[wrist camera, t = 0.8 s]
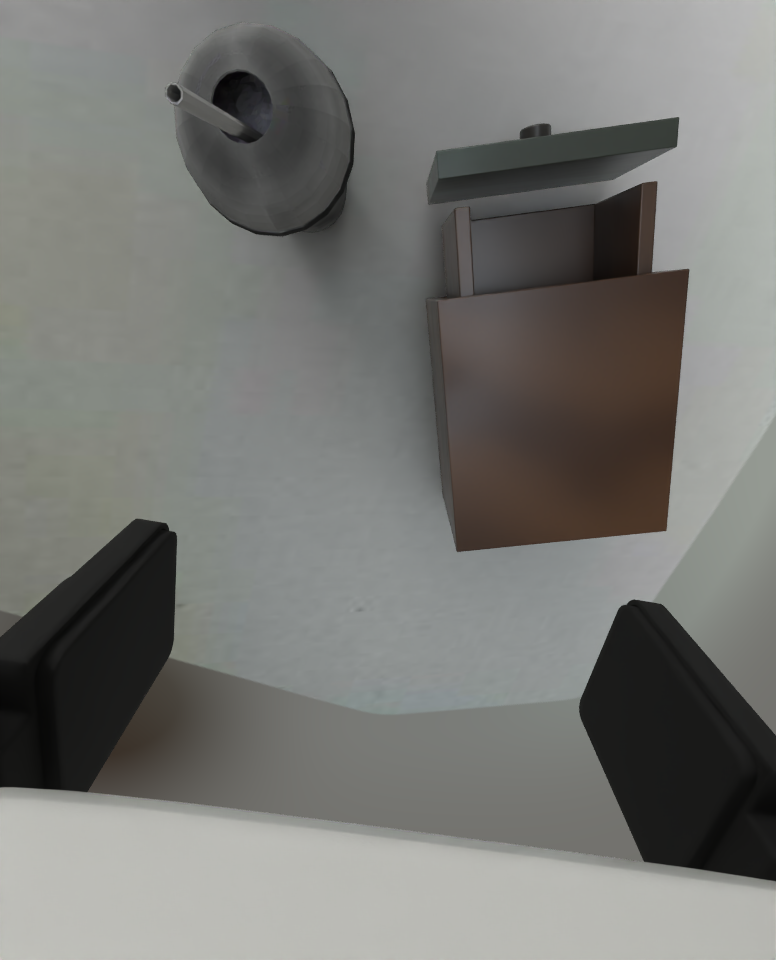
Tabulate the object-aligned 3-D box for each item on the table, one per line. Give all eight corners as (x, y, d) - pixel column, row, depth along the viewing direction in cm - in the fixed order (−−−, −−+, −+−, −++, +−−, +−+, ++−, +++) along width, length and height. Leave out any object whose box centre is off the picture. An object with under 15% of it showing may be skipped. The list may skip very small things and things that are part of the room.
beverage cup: (389, 170, 31) (385, -15, 12) (332, 277, 33) (255, 257, 15) (286, 97, 30) (106, -235, 11) (234, 213, 32) (11, 101, 13)
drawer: (424, 160, 30) (433, 121, 23) (614, 133, 30) (681, 85, 23) (443, 398, 35) (455, 424, 28) (606, 380, 35) (658, 401, 28)
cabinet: (425, 299, 34) (436, 300, 25) (613, 275, 33) (689, 268, 25) (442, 495, 39) (456, 552, 30) (605, 478, 38) (666, 531, 30)
